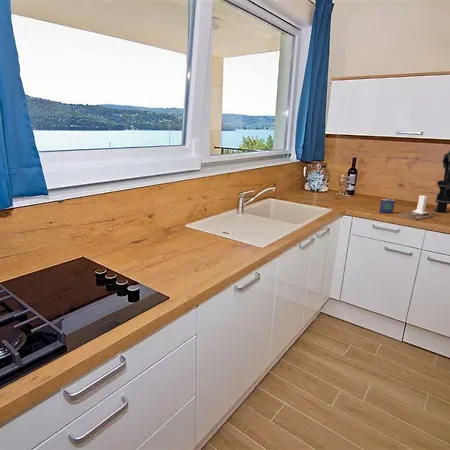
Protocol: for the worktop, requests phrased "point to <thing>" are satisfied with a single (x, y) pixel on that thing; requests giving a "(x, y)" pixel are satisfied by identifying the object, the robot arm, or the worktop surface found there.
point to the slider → (421, 205)
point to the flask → (386, 206)
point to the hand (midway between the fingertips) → (447, 196)
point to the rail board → (415, 215)
